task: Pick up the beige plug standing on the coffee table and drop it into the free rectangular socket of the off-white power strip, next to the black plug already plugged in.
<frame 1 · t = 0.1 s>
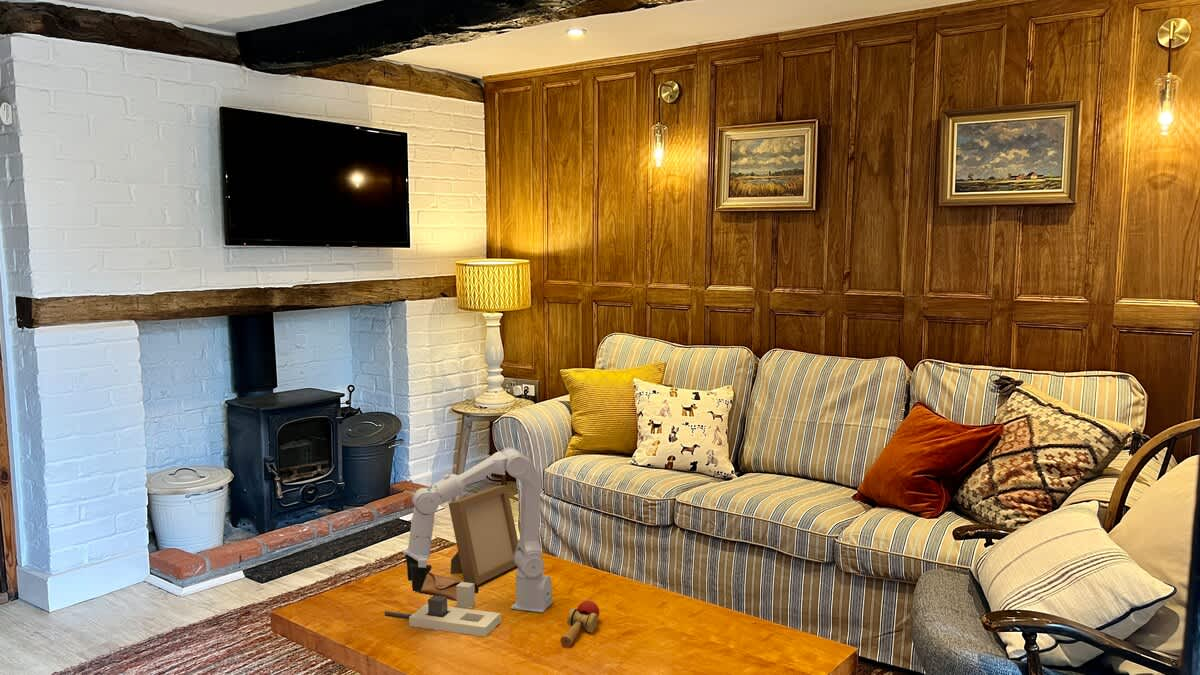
hand: (414, 585, 230), 10 cm above the table, tool pointing down, fingers open, 7 cm apart
power strip: (455, 624, 231), on the table
kendama: (579, 633, 225), on the table
sunglasses case: (445, 594, 253), on the table
photo frame: (481, 572, 268), on the table
beige plug: (465, 605, 243), on the table
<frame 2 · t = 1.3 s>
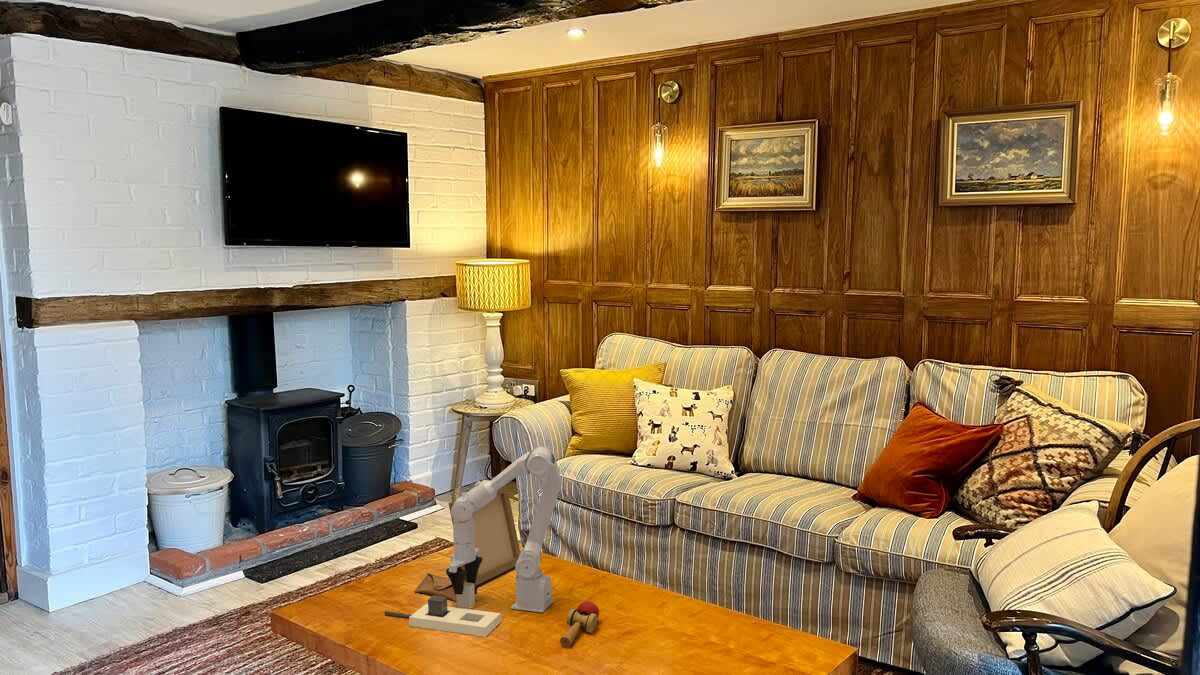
hand: (465, 588, 243), 5 cm above the table, tool pointing down, fingers open, 7 cm apart
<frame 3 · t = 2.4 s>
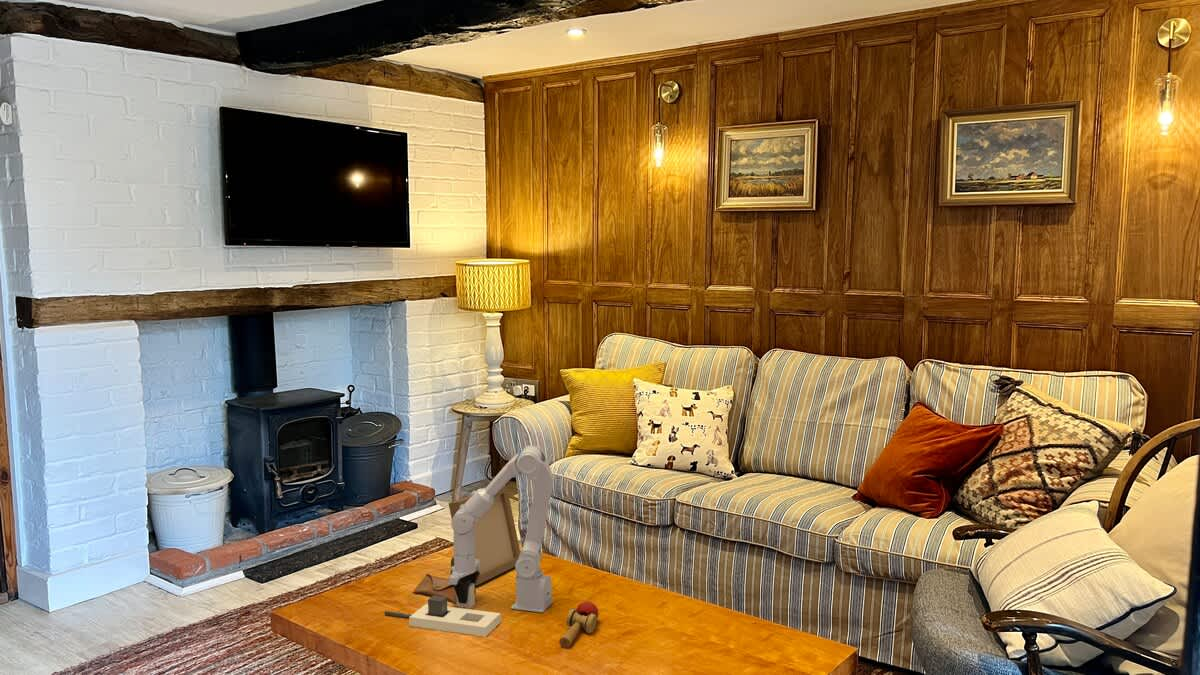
hand: (465, 600, 243), 1 cm above the table, tool pointing down, fingers closed on beige plug, 3 cm apart
beige plug: (465, 605, 243), on the table, touching gripper
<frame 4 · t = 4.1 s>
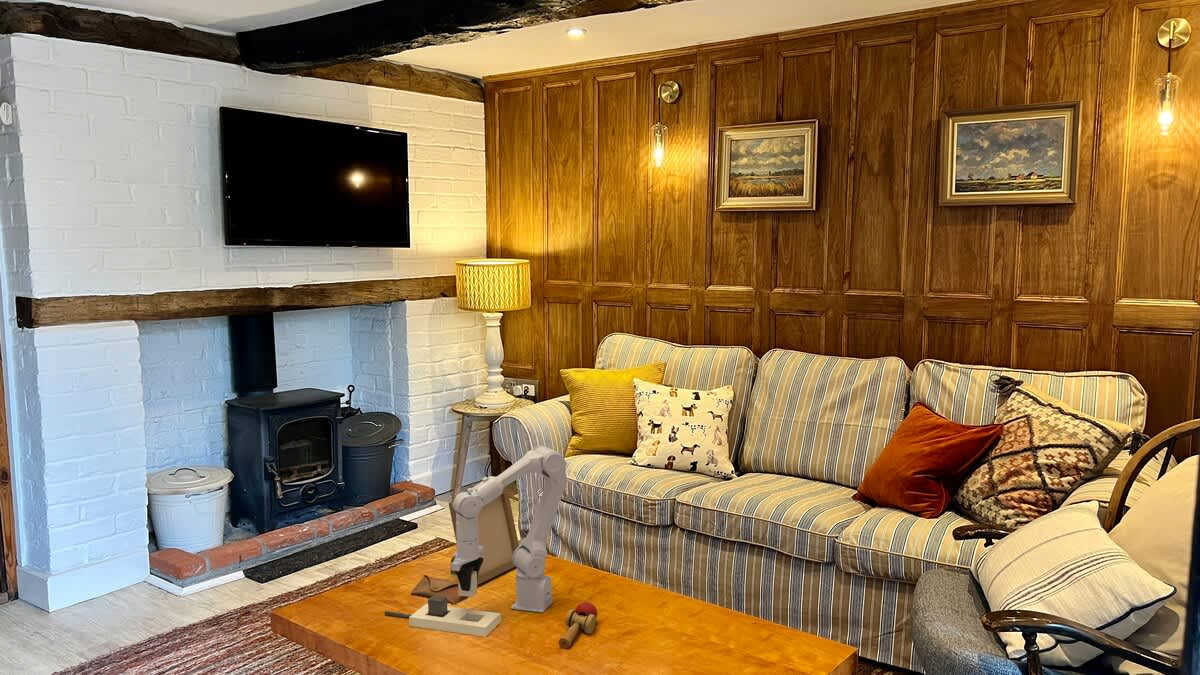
hand: (468, 587, 234), 8 cm above the table, tool pointing down, fingers closed on beige plug, 3 cm apart
beige plug: (467, 594, 234), point 7 cm above the table, touching gripper
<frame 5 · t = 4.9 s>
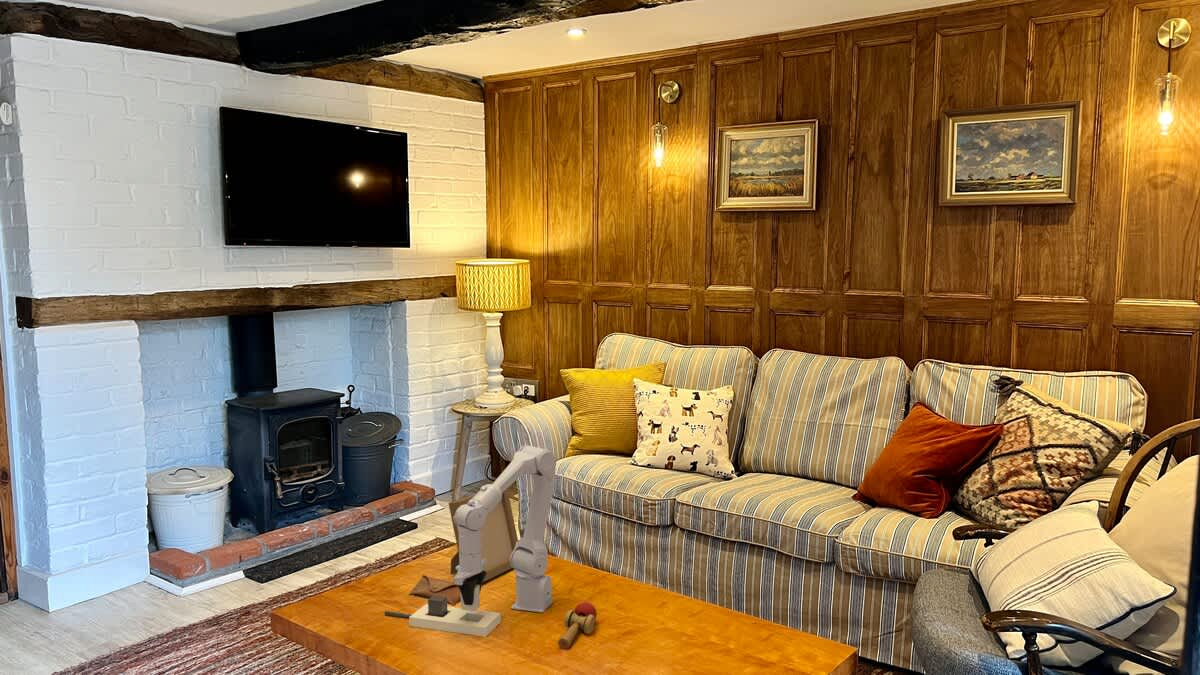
hand: (471, 601, 229), 7 cm above the table, tool pointing down, fingers closed on beige plug, 3 cm apart
beige plug: (470, 608, 229), point 5 cm above the table, touching gripper
when the fingers open (3 cm above the table, at t = 5.8 s): beige plug stays where it is, resting on power strip.
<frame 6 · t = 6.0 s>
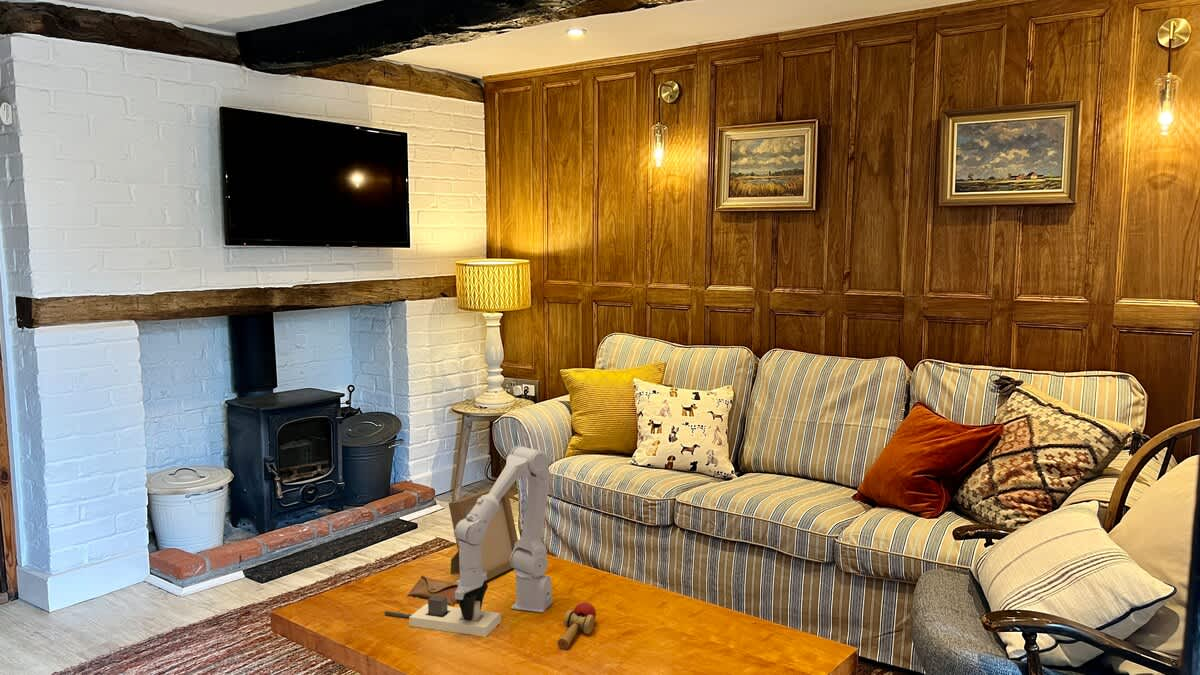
hand: (472, 615, 229), 3 cm above the table, tool pointing down, fingers open, 4 cm apart
beige plug: (471, 624, 229), resting on power strip
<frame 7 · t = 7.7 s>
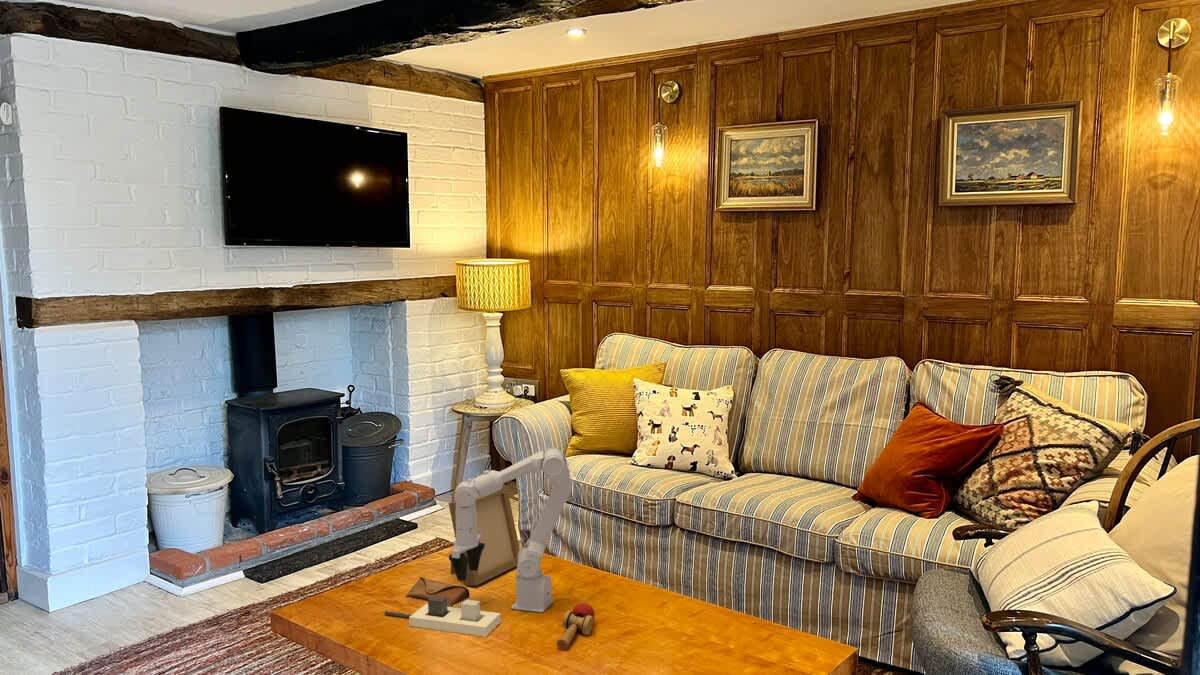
hand: (467, 575, 240), 9 cm above the table, tool pointing down, fingers open, 7 cm apart
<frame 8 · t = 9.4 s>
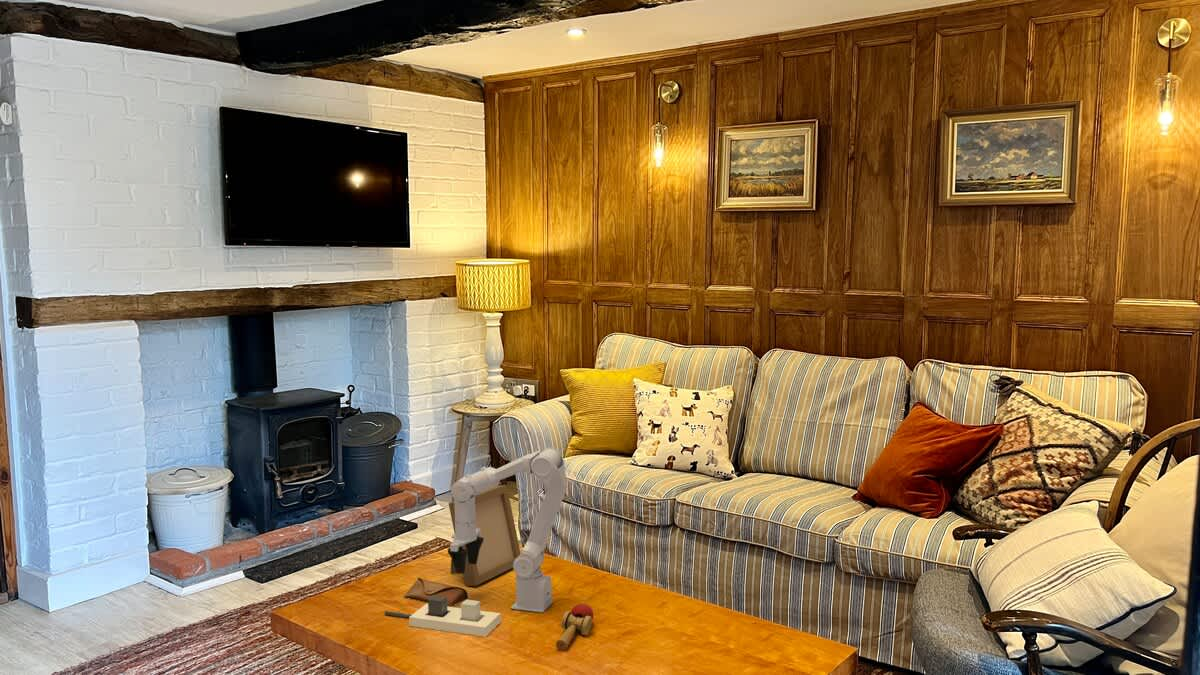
hand: (466, 568, 245), 9 cm above the table, tool pointing down, fingers open, 7 cm apart
at the end: beige plug 0.3 cm from the target spot on the power strip, point 0.5 cm above the power strip's base; beige plug tilted 0°; the gripper is holding nothing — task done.
